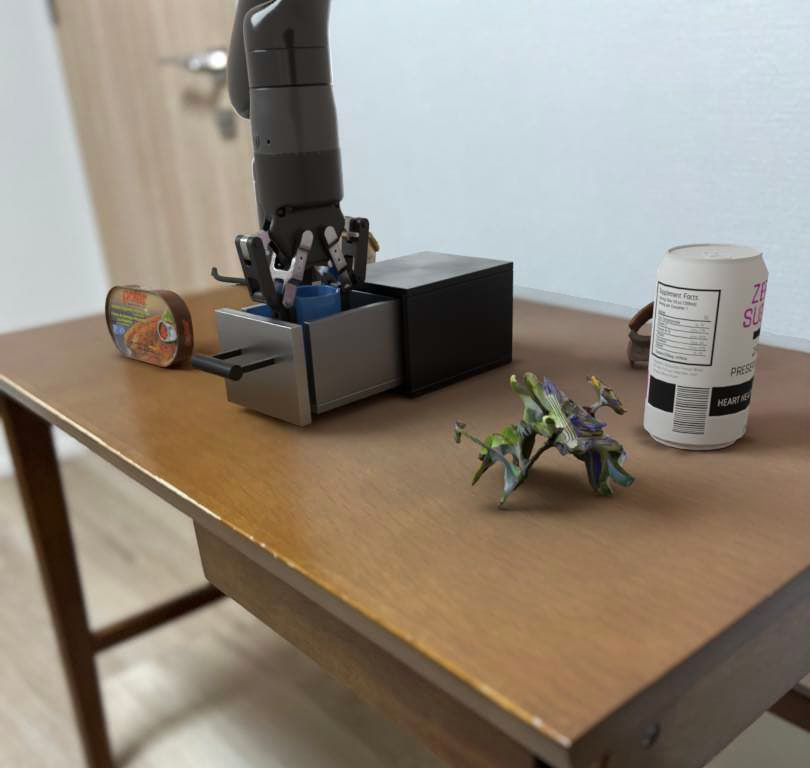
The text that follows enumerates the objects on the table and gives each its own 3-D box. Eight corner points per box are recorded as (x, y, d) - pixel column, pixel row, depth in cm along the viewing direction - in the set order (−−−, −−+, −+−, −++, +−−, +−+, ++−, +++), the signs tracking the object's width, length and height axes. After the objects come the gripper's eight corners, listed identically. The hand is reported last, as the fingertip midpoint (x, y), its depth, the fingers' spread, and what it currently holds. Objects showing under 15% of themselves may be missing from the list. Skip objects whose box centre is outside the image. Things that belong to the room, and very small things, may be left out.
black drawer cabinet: (412, 399, 86) (407, 289, 81) (328, 376, 94) (319, 274, 89) (512, 362, 95) (513, 261, 90) (428, 343, 103) (425, 250, 98)
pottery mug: (742, 382, 87) (717, 316, 82) (651, 420, 91) (621, 358, 86) (717, 322, 96) (693, 260, 91) (635, 358, 100) (607, 300, 95)
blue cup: (276, 361, 84) (268, 292, 81) (320, 348, 88) (314, 282, 84) (312, 371, 81) (305, 300, 78) (357, 358, 84) (352, 289, 81)
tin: (110, 352, 106) (95, 282, 103) (132, 347, 108) (119, 277, 105) (181, 373, 97) (168, 296, 93) (204, 367, 99) (192, 291, 95)
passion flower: (591, 557, 67) (681, 466, 58) (466, 565, 63) (541, 469, 53) (544, 438, 72) (620, 337, 63) (425, 438, 68) (488, 330, 58)
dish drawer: (256, 442, 75) (243, 340, 71) (184, 415, 82) (167, 320, 78) (415, 386, 86) (412, 295, 82) (339, 366, 94) (333, 282, 90)
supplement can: (633, 419, 78) (648, 244, 71) (728, 417, 77) (751, 240, 71) (653, 454, 71) (672, 263, 64) (757, 451, 70) (787, 258, 63)
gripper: (254, 154, 69) (278, 364, 76) (387, 139, 77) (396, 330, 85) (201, 152, 73) (229, 350, 81) (332, 138, 82) (345, 319, 90)
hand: (314, 339), depth 83 cm, fingers closed on blue cup, 5 cm apart
